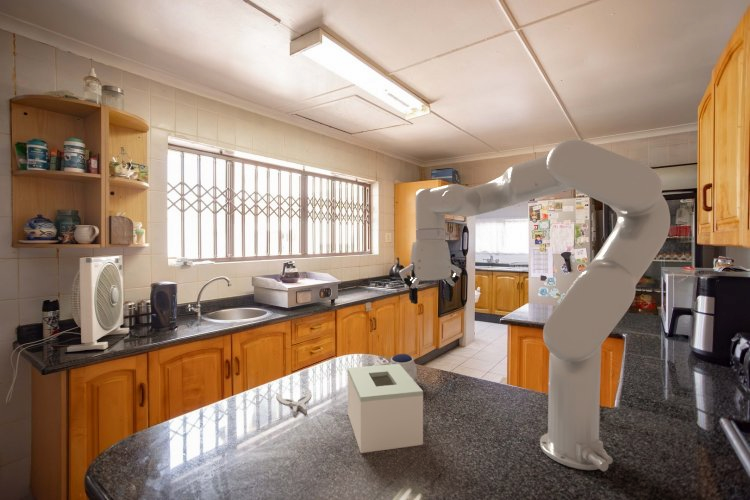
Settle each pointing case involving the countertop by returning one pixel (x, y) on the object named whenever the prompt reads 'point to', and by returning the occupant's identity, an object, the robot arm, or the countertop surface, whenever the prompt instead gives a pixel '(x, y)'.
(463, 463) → the countertop surface
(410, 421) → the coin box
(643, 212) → the robot arm
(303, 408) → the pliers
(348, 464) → the countertop surface
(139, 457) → the countertop surface
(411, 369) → the toy
